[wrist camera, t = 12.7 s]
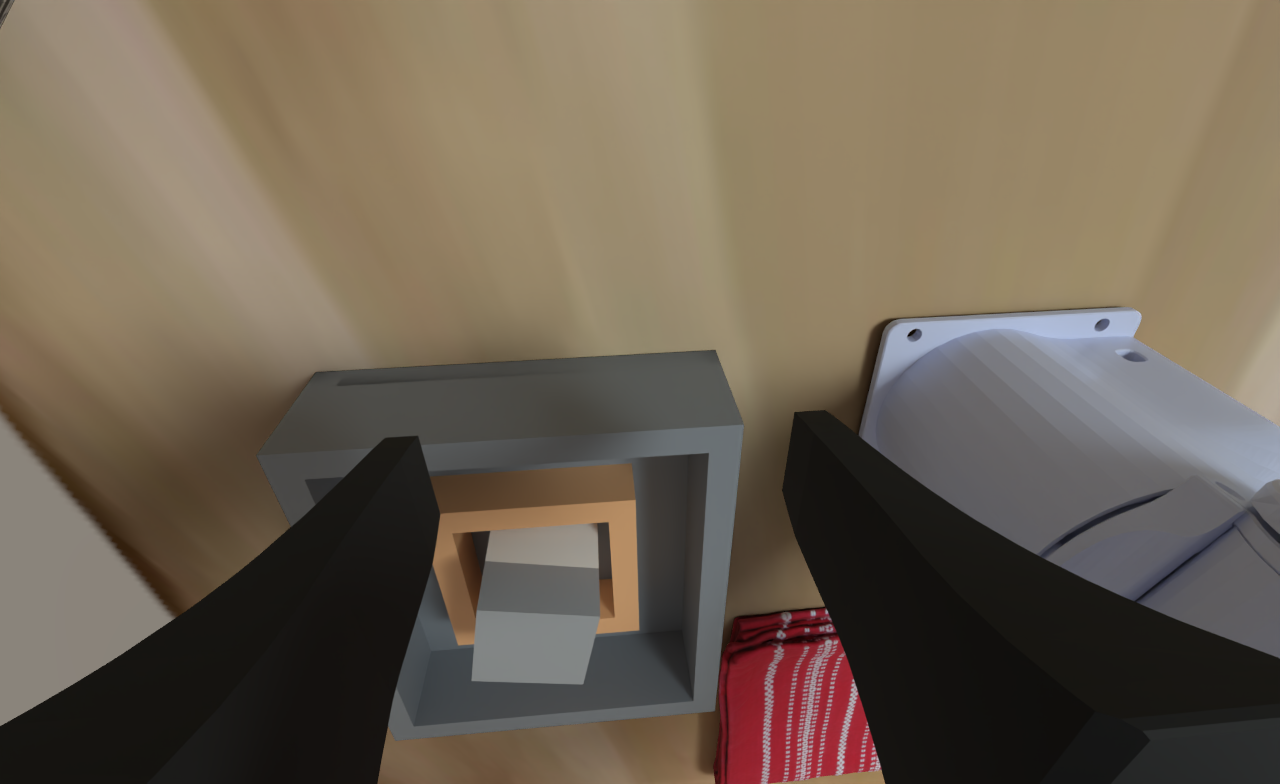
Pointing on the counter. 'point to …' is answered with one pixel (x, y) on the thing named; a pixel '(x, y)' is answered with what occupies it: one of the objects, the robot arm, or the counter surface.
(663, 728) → the counter surface
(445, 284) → the counter surface
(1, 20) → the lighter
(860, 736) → the dish towel
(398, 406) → the box
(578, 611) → the grey block
